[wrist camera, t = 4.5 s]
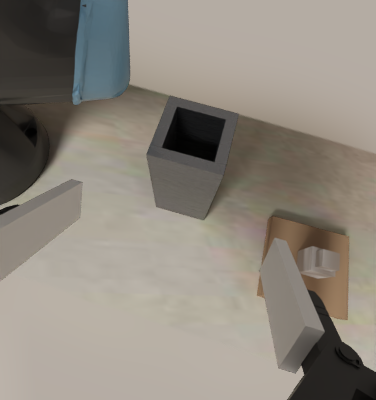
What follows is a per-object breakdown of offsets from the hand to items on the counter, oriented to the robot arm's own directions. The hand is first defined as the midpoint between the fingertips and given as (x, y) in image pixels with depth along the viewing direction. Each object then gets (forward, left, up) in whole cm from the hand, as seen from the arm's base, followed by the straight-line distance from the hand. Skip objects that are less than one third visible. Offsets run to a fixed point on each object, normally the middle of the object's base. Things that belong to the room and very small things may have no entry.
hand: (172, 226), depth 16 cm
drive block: (+13, +6, -13) cm, 20 cm away
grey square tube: (-3, +7, -12) cm, 15 cm away
